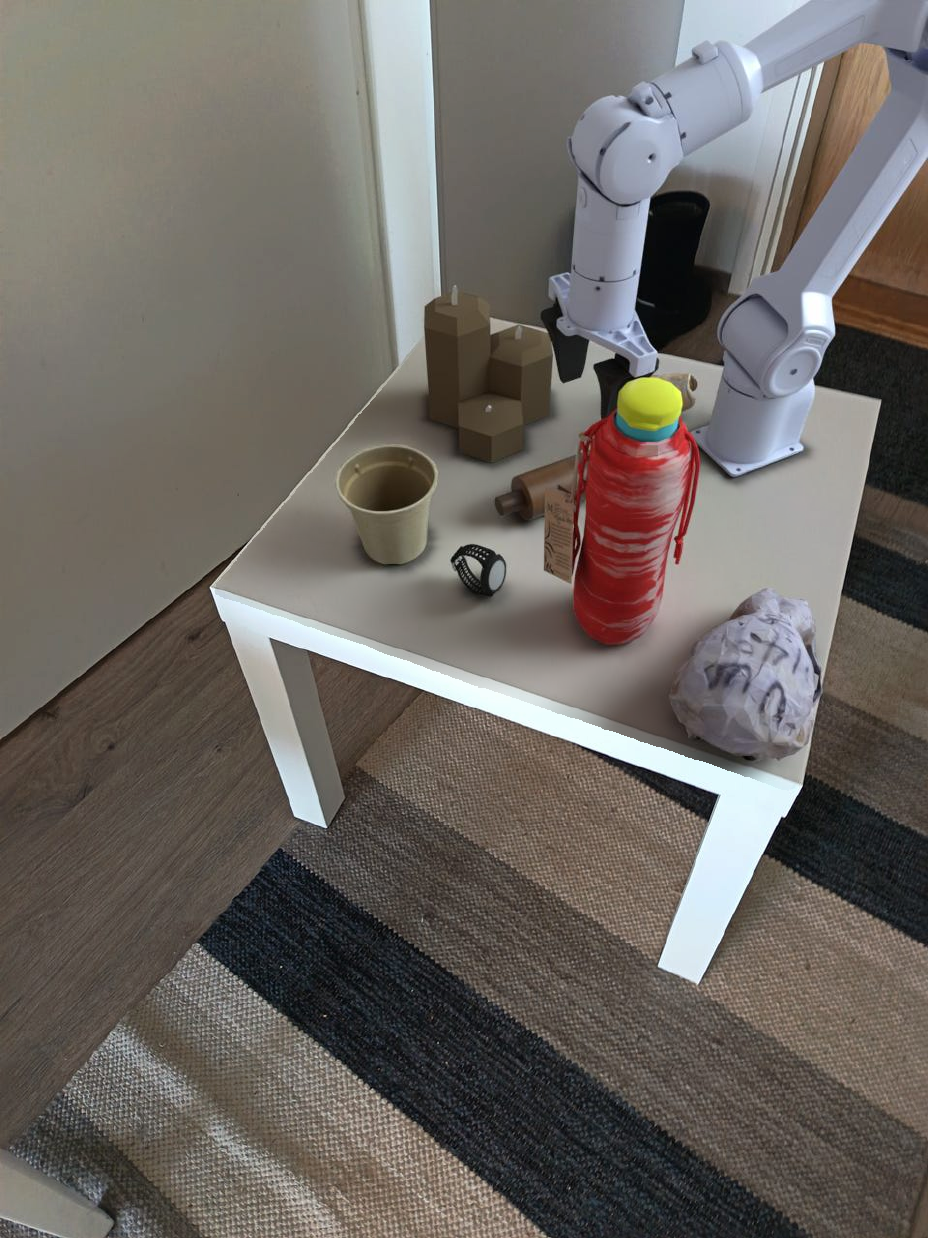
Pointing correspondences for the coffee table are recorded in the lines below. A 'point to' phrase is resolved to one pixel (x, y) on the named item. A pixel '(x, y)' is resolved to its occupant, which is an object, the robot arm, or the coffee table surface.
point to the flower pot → (389, 499)
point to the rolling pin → (538, 488)
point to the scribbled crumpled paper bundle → (753, 680)
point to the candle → (484, 375)
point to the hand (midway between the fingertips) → (591, 399)
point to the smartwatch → (490, 573)
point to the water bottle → (624, 511)
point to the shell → (682, 387)
